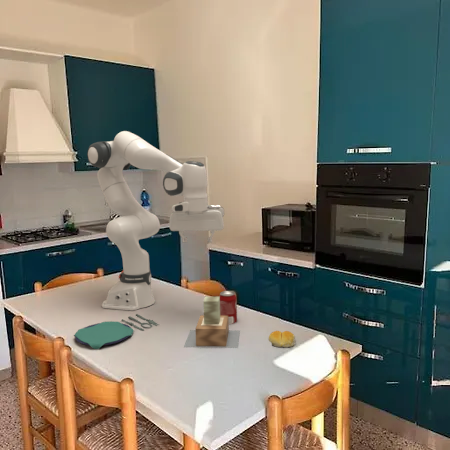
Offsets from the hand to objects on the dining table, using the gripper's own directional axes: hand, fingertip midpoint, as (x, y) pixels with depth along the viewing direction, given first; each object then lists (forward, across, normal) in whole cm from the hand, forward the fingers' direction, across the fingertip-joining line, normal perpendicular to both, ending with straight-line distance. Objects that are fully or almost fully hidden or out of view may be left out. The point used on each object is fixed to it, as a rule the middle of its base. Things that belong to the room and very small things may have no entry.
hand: (197, 242), depth 163 cm
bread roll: (+32, -31, +18) cm, 48 cm away
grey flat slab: (+31, -7, +18) cm, 37 cm away
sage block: (+24, -7, +18) cm, 31 cm away
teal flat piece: (+32, +29, +11) cm, 45 cm away
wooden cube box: (+30, -7, +18) cm, 36 cm away
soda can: (+31, -11, +2) cm, 33 cm away
